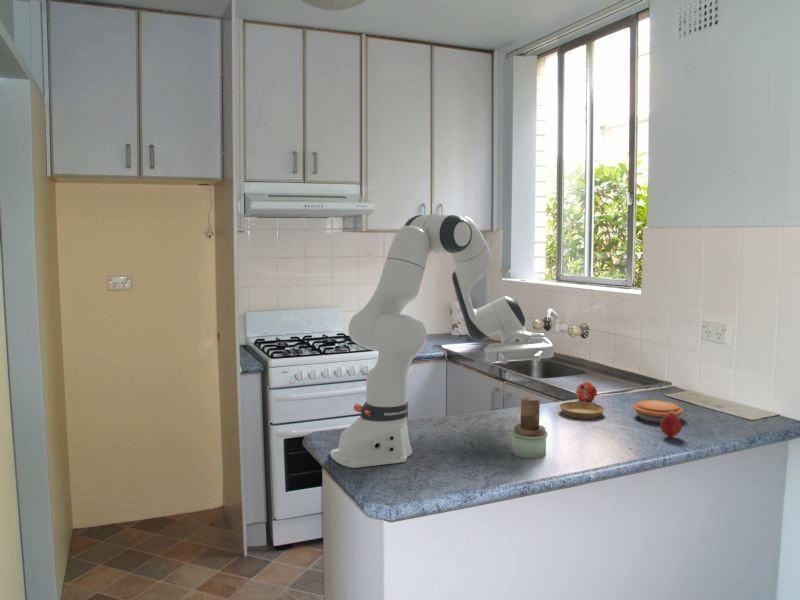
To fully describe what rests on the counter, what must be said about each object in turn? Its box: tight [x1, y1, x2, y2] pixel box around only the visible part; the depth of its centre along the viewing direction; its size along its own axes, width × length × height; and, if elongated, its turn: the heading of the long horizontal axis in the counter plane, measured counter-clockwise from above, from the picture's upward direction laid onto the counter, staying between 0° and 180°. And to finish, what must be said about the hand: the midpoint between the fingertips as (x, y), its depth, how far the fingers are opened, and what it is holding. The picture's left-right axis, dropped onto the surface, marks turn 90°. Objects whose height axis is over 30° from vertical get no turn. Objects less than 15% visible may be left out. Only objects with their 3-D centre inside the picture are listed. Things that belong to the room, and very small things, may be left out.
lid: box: [513, 396, 546, 437], centre depth 185 cm, size 8×8×9 cm
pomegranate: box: [575, 381, 598, 403], centre depth 242 cm, size 7×7×10 cm
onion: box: [659, 411, 683, 439], centre depth 200 cm, size 6×6×8 cm
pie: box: [632, 399, 684, 424], centre depth 221 cm, size 15×16×5 cm
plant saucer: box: [558, 401, 606, 419], centre depth 226 cm, size 15×15×3 cm
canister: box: [511, 428, 548, 460], centre depth 186 cm, size 10×10×6 cm
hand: (521, 360), depth 196 cm, fingers open, 8 cm apart
